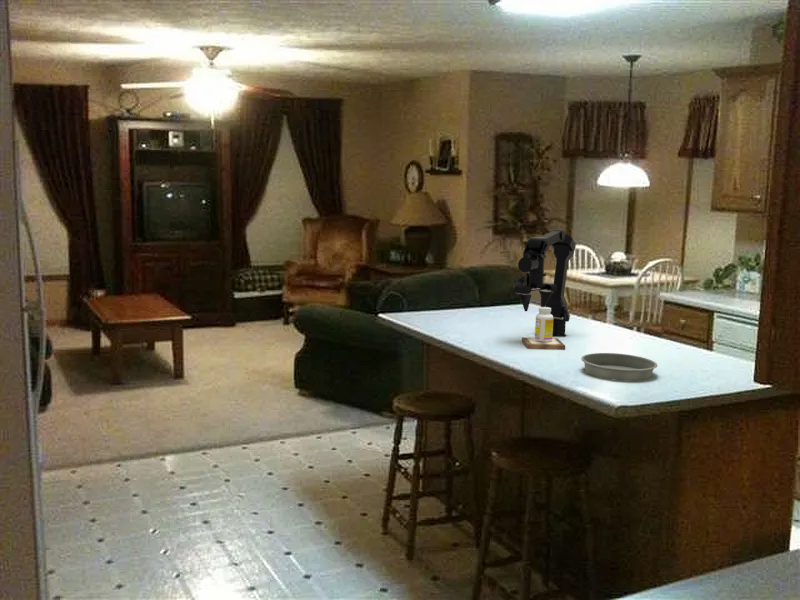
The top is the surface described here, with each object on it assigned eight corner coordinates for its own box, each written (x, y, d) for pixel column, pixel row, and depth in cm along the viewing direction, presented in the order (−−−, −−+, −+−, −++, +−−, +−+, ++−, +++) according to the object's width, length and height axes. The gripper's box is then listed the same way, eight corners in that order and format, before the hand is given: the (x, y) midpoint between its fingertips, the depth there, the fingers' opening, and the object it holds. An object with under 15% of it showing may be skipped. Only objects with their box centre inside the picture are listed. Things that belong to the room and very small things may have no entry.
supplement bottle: (554, 340, 319) (556, 307, 318) (549, 343, 313) (551, 309, 312) (537, 338, 322) (539, 305, 320) (532, 341, 316) (534, 308, 314)
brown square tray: (557, 342, 325) (557, 337, 325) (565, 349, 311) (565, 345, 311) (521, 341, 325) (522, 336, 324) (528, 348, 311) (528, 344, 311)
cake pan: (611, 385, 260) (612, 371, 259) (565, 367, 282) (566, 354, 281) (672, 379, 270) (673, 366, 269) (624, 363, 292) (625, 350, 291)
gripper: (537, 266, 330) (535, 305, 333) (504, 269, 319) (502, 309, 321) (558, 270, 322) (556, 309, 324) (524, 272, 310) (522, 313, 313)
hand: (534, 310), depth 321 cm, fingers open, 9 cm apart
